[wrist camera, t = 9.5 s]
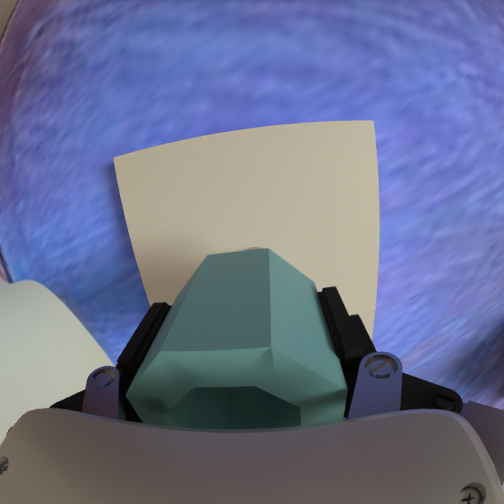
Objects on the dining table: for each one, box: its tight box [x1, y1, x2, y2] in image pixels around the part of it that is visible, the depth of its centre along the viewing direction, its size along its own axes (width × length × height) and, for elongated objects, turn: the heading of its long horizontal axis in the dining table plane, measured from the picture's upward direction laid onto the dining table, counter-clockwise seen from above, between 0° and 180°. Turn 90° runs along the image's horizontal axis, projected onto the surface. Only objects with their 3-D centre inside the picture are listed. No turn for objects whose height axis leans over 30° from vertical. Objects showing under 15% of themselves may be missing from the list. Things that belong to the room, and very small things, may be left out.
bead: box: [126, 248, 348, 429], centre depth 10 cm, size 6×6×6 cm
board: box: [113, 121, 379, 341], centre depth 15 cm, size 16×16×10 cm
